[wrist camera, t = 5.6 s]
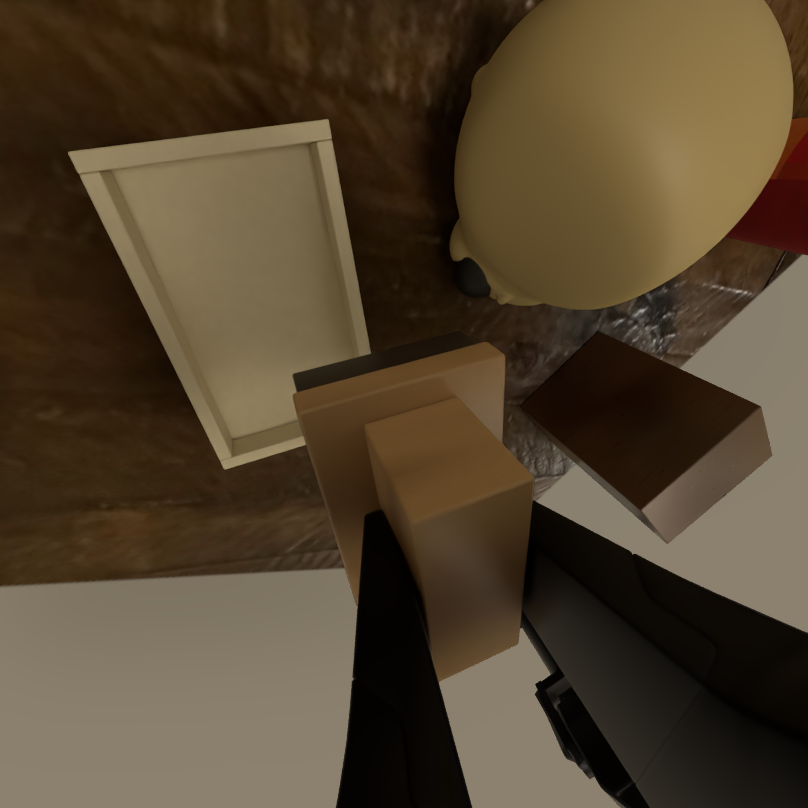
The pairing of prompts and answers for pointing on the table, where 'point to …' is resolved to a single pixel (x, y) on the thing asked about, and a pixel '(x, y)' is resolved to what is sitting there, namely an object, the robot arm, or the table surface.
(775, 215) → the paper cup
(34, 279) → the table surface
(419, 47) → the table surface
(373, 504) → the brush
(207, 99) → the table surface
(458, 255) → the tan animal figurine
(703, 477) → the brown block
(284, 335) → the tray
